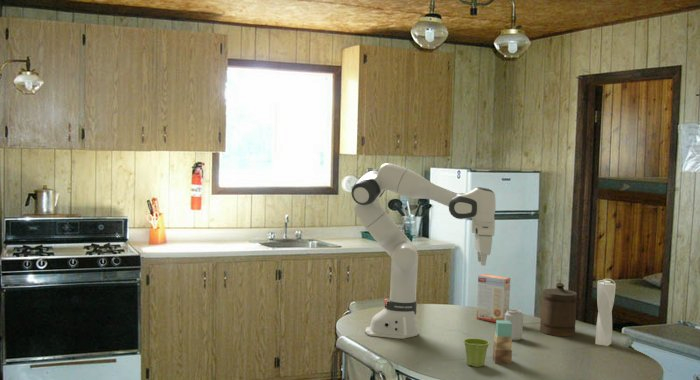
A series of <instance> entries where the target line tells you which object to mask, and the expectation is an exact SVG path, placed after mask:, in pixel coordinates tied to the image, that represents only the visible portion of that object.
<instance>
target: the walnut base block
mask: <svg viewBox="0 0 700 380" xmlns="http://www.w3.org/2000/svg"><path fill="white" fill-rule="evenodd" d="M492 348H493V349H492V360H493V362H494V364H502V365H504V364H505V365H512V361H513V360H512V359H513V357H512V356H513V350H512V349H511V351H509V350H496V349H495V347H494V345H493V346H492Z"/></svg>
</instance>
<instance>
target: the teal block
mask: <svg viewBox="0 0 700 380" xmlns="http://www.w3.org/2000/svg"><path fill="white" fill-rule="evenodd" d="M511 332H512V323H511V322H510V321H504V320H496V322H495V332H494V333H496V335H497V336H498V337H511Z"/></svg>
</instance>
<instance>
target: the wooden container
mask: <svg viewBox="0 0 700 380" xmlns="http://www.w3.org/2000/svg"><path fill="white" fill-rule="evenodd" d="M555 286H556V287H555V288H545V289H544V288H543V290H542V298H541V308H540V309H541V310H540V323H539V324H540V326H539V330H540V332H541V333H542V334H546V335H549V336H553V337H554V336H555V337H572V336H574V335H576V320H577V317H576V316H577V298H578V293H577V292H575V291H574V290H571V289H570V290H568V289H565V288H564V287H565V284H564V283H562V282H558V283H556V285H555Z"/></svg>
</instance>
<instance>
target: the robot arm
mask: <svg viewBox="0 0 700 380" xmlns="http://www.w3.org/2000/svg"><path fill="white" fill-rule="evenodd" d="M385 191H390V192H392V193H394V194H397V195H399V196H402V197H405V198H409V199H413V200H416V199H417V200H418V199H419V200H422V199H424V200H430V201H433V202H437V203H439V204H441V205H444V206H446V207H448V211H449V215H451V216H452V217H453V218H454V219H457V220H466V219H471V233H473V234H474V238H475V239H474V249H475V250H476V251H477V262H479V263H480V265H481V266H484V267H485V266H486V265H487V259H488V256H490V255H491V253H492V245H493V237H494V236H495V230H496V229H495V228H496V227H495V226H496V220H495V213H496V206H497V205H496V203H497V202H496V194H495V192H494V191H493V190H492V189H491V188H490V189H489V188H485V187H481V186H480V187H479V186H477V187H475V188H474V189H472V190H470V191H468V192H465V193H463V192H461V193H457V192H454V191H452V190H449V189H447V188H444V187H441V186H439V185H436V184H435V183H433V182H431V181H429V180H428V179H427V178H425V177H423V176H422V175H420V174H419V173H417V172H415V171H413V170H411V169H409V168H407V167H404V166H403V165H402V166H401V165H397V164H394V163H388V162H386V163H383V164H382V165H381V166H380V167H379V168H373V169H370V170H368V171H367V172H366V173H364V174H363V175H362V176H361V177H360V178H359V179H358V180H357V181H356V182H355V183H354V185H352V188H351V197H352V199H353V201H354V202H355V204H354V206H353V210H354V213H355V215H356V217H357V218H358V220H359V221H360V224H362V226H363V227H364V228H365V230H366V231H367V232H368V233H369V234H370V235H371V237H372V238H373V239H374V241H376V243H377V244H378V245H379V246H380V247H381V248H382V249H383V250H384V251H385V252H386V253H387V255H389V257H390V258H391V263H390V264H391V265H390V281H389V282H390V287H389V298H385V299H384V300H383V304H384V308H383V309H381V310H380V311H379V312H378V313H376V314H374V315H373V316H372V319H371V321H370V325H369V326H367V327H365V334H366V335H367V336H371V337H382V338H391V339H392V338H393V339H400V340H401V339H402V340H403V339H407V338H412V337H413V338H414V337H416V336H418V335H419V331H418V325H417V316H416V315H417V310H418V302H417V282H418V268H419V267H418V266H419V253H418V251H417V248H416V246H415V244H414V243H413V242H412V240H410V239H409V238H408V236H407V235H406V234H405V233H404V232H403V230H402V229H400V227H399V226H398V225H397V224H396V223H395V221H394V220H393V218H392V217H390V215H389V213H387V211H385V209H384V208H383V206H382V205H381V204H380V201H379V199H380V198H381V197H382V196H383V194H384V193H385Z"/></svg>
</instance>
